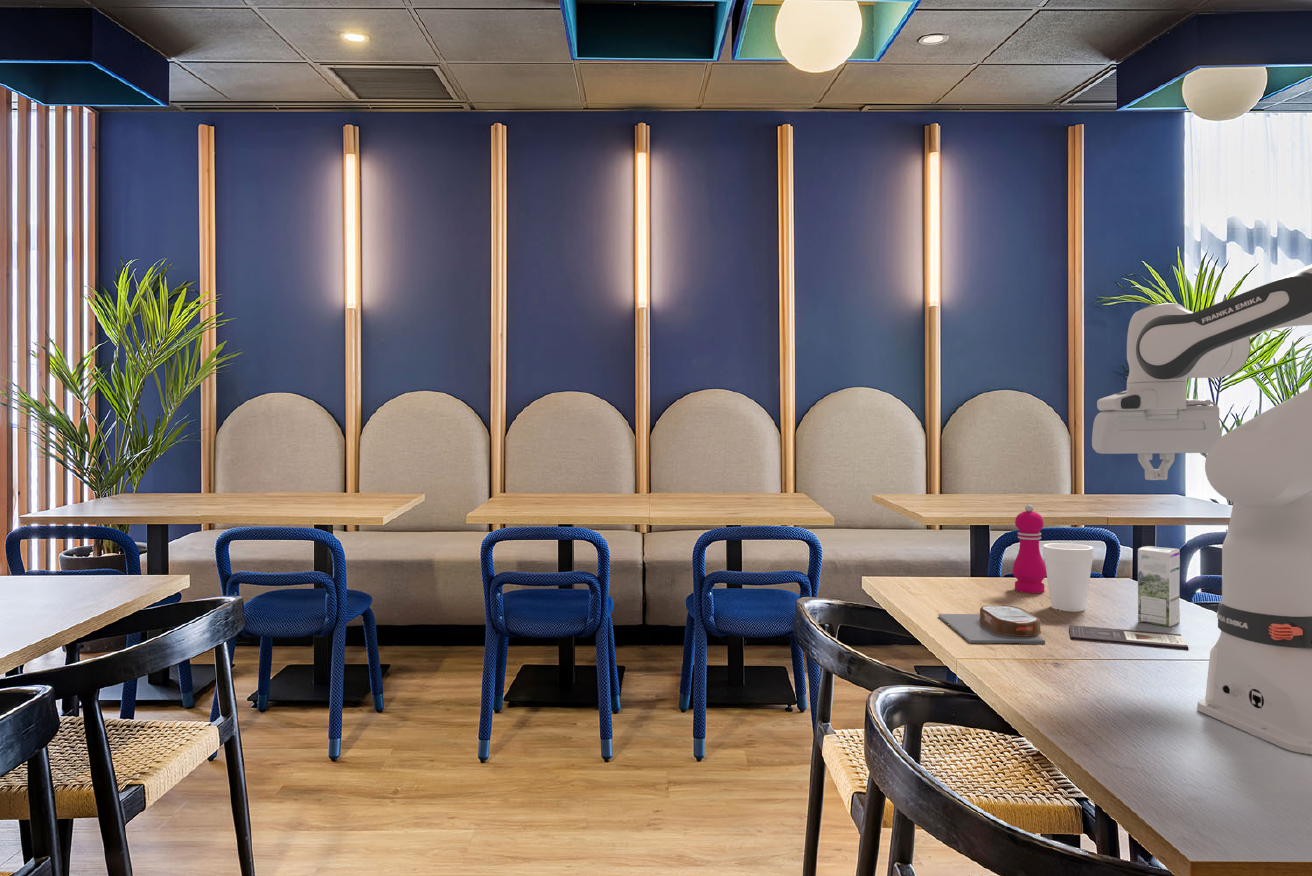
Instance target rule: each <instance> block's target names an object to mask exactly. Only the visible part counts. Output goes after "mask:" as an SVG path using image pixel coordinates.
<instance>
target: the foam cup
mask: <svg viewBox="0 0 1312 876" xmlns="http://www.w3.org/2000/svg"><path fill="white" fill-rule="evenodd" d="M1042 551H1043V552H1042V557H1044V559H1043V560H1044V563H1045V566H1046V573H1047V575H1046V579H1047V586H1048V593H1049V600H1050V601H1049V602H1050V604H1051V608H1052V609H1054V608H1055V609H1054V610H1057V609H1059V610H1058V611H1062V610H1063V612H1077V613H1078V612H1084V611H1085V610H1086V606H1087V599H1088V595H1089V587H1090V582H1091V581H1090V580H1091V575H1092V574H1091V572H1092V567H1093V560H1094V559H1095V557H1094V556H1095V555H1094V554H1095V549H1094V547H1093V546H1091V545H1086V544H1080V543H1069V542H1068V543H1065V542H1064V543H1063V542H1062V543H1061V542H1060V543H1059V542H1055V543H1054V542H1053V543H1045V544H1043V545H1042Z"/></svg>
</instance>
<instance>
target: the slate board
mask: <svg viewBox="0 0 1312 876" xmlns="http://www.w3.org/2000/svg"><path fill="white" fill-rule="evenodd" d="M938 616H939V617H940V618H941V621H943V622H944V623H945V622H946V623H948V624H949V625H950V626H951V627H952V628H953V629H955V630H956V631H957V632H958V633H959V634H960V635H959V634H958V633H957V632H956V631H955V630H954V631H955V632H956V633H957V634H958V635H959V636H960V637H962V636H963V637H964V638H965V639H966V642H968V643H969V644H970V643H1019V644H1020V643H1021V644H1020V645H1026V644H1027V645H1029V644H1031V645H1046V639H1043V638H1042V637H1040V636H1039V635H1037V636H1029V637H1021V636H1010V635H1004V634H1000V633H997V632H994V631H993V630H991V629H990V628H989V627H987V626H986V625H984V624H983V623H982V622H980V620H979V619H980V613H938ZM938 616H937V617H938ZM939 617H938V618H939ZM940 618H939V619H940ZM946 623H945V624H946ZM948 624H947V625H948ZM949 625H948V626H949ZM950 626H949V627H950ZM951 627H950V628H951ZM952 628H951V629H952ZM953 629H952V630H953ZM963 637H962V638H963ZM964 638H963V639H964ZM965 639H964V640H965ZM1022 643H1023V644H1022ZM1025 643H1026V644H1025ZM1019 644H1018V645H1019Z"/></svg>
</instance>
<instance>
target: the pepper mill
mask: <svg viewBox="0 0 1312 876" xmlns="http://www.w3.org/2000/svg"><path fill="white" fill-rule="evenodd" d="M1024 510H1025V511H1021V512H1019V513H1018V514H1017V515H1016V517H1015V520H1014V523H1015V527H1016V528H1017V529H1018V531H1017V538H1018V539H1019V549H1018V552H1017V556H1016V558H1015V560H1014V562H1013V566H1012V570H1011V571H1012V575H1013V576H1014V577H1015V579H1016V581H1014V590H1015V591H1017V592H1021V593H1024V594H1025V593H1026V594H1041V593H1044V592H1045V583H1044V582H1043V581H1044V580H1045V578H1047V573H1046V566H1045V560H1044V559H1043V558H1042V557H1043V556H1042V554H1041V550H1040V540H1041V539H1042V536H1041V535H1042V533H1041V530H1042V529H1043V528H1044V524H1045V523H1044V522H1045V521H1044V519H1043V516H1042V515H1041V514H1040V513H1038V512H1035V511H1034V506H1033V505H1032V504H1027V505H1025V507H1024Z"/></svg>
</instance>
